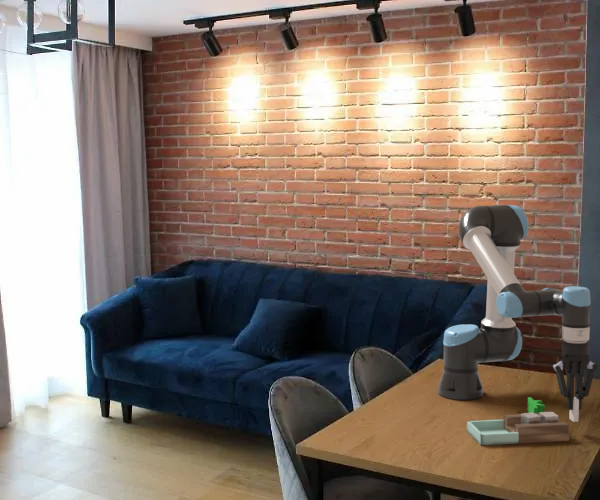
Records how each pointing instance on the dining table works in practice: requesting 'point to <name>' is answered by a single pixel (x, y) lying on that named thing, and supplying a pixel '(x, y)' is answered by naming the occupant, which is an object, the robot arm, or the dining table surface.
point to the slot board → (538, 437)
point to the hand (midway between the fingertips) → (573, 420)
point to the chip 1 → (530, 418)
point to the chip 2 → (548, 417)
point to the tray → (491, 432)
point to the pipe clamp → (535, 406)
